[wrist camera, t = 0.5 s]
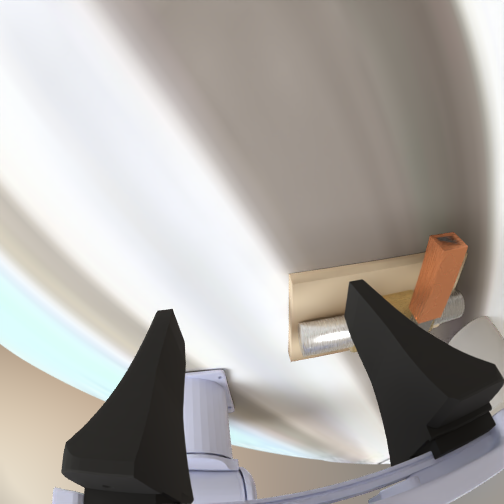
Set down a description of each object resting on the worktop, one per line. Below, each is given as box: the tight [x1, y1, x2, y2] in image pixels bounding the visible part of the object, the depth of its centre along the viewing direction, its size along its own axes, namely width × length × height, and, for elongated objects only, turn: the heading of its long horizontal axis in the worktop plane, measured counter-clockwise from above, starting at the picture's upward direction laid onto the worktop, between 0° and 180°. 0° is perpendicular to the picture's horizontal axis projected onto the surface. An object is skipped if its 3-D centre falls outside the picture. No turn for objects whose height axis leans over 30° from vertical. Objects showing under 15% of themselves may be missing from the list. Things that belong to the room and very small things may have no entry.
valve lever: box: [408, 232, 468, 332], centre depth 20 cm, size 12×2×2 cm, turn 4°
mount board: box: [288, 252, 468, 362], centre depth 27 cm, size 10×17×1 cm, turn 94°
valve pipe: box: [298, 289, 465, 357], centre depth 26 cm, size 4×16×4 cm, turn 94°
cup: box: [448, 316, 504, 416], centre depth 31 cm, size 8×8×12 cm
